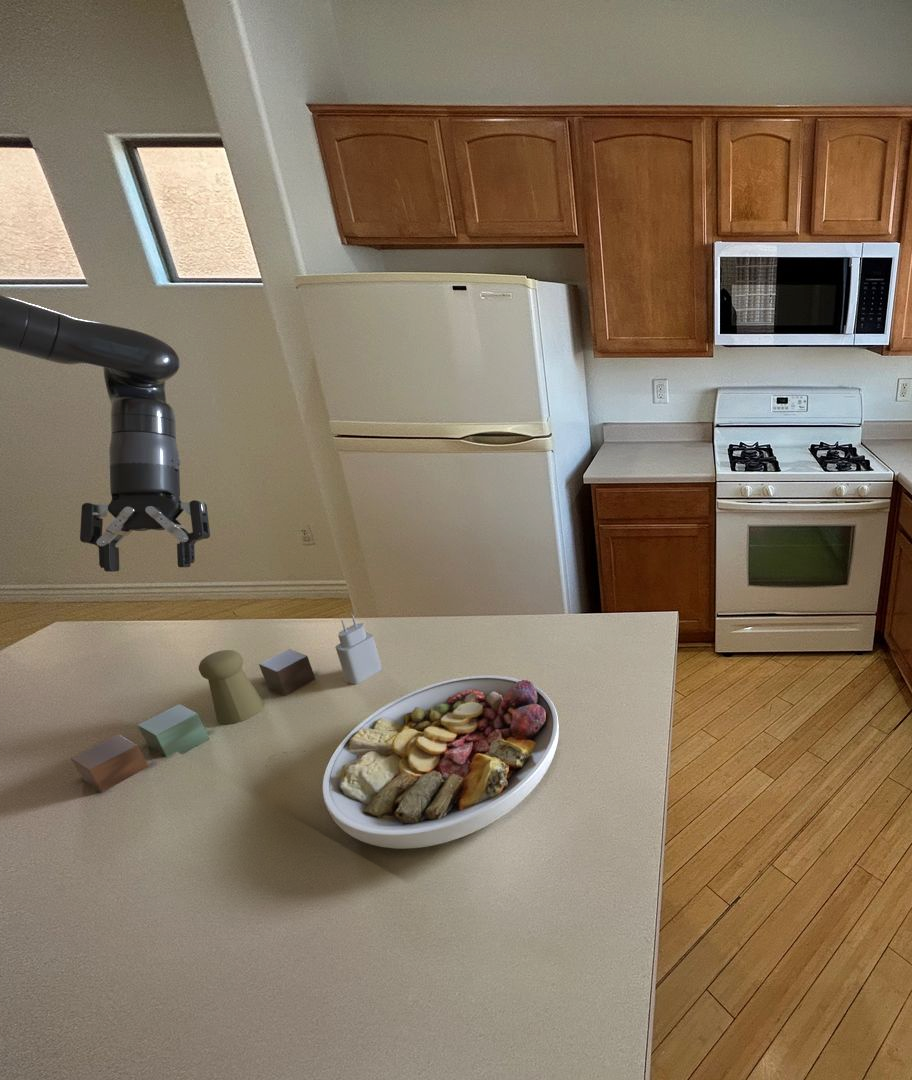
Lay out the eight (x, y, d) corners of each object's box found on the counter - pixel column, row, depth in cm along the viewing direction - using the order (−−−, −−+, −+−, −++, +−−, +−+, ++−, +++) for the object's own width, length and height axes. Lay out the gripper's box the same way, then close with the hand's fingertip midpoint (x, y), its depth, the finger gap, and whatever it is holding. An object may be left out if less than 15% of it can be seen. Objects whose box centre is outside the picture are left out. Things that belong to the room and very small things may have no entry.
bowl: (397, 915, 61) (380, 867, 58) (296, 781, 78) (279, 738, 74) (602, 754, 83) (599, 712, 80) (490, 676, 100) (483, 639, 96)
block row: (104, 798, 75) (88, 770, 73) (86, 785, 76) (70, 758, 74) (315, 679, 98) (307, 655, 96) (297, 671, 100) (289, 648, 98)
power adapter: (384, 668, 101) (368, 612, 96) (355, 685, 97) (337, 627, 92) (372, 663, 102) (356, 608, 97) (344, 680, 98) (325, 623, 93)
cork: (225, 704, 92) (201, 648, 87) (269, 695, 94) (247, 641, 89) (210, 728, 87) (184, 671, 82) (257, 718, 89) (234, 662, 84)
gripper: (65, 461, 80) (68, 572, 79) (191, 460, 85) (195, 565, 84) (100, 471, 87) (103, 573, 86) (215, 469, 92) (218, 566, 91)
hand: (149, 569), depth 85 cm, fingers open, 8 cm apart
